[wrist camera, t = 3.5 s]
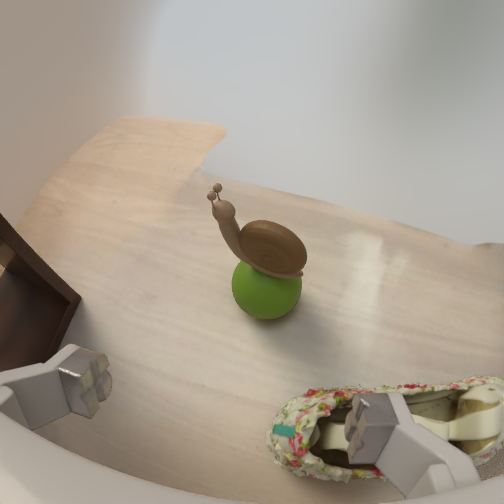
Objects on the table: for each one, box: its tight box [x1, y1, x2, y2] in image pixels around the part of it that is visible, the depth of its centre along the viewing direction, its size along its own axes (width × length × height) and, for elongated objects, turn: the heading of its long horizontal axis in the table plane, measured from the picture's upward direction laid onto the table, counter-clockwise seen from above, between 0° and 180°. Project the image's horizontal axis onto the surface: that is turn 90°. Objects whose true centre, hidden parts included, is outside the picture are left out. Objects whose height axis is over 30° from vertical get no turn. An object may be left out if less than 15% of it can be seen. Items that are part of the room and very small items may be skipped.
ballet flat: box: [266, 376, 504, 484], centre depth 16 cm, size 9×25×8 cm, turn 86°
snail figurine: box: [207, 183, 307, 319], centre depth 21 cm, size 5×6×12 cm
